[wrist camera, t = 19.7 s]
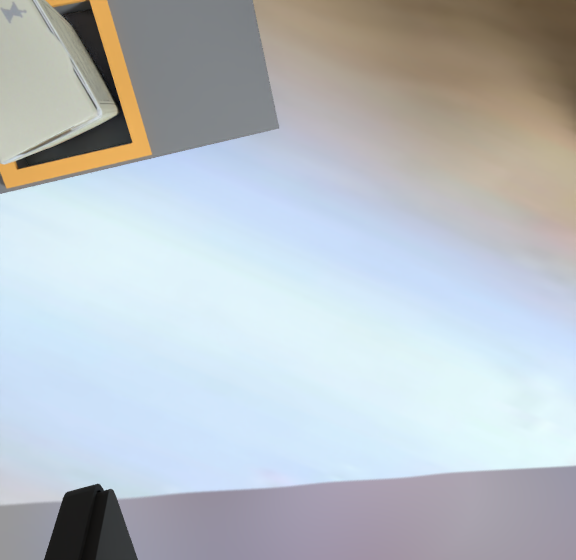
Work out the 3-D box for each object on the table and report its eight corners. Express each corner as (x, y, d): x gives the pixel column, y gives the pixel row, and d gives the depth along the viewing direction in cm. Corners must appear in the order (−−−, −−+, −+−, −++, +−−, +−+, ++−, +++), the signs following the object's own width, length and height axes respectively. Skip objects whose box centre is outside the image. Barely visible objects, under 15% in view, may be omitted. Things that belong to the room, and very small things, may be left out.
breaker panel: (203, -197, 27) (206, -226, 24) (272, 127, 32) (280, 128, 30) (-185, -142, 24) (-221, -169, 22) (-40, 200, 29) (-57, 207, 27)
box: (-1, 59, 28) (-99, 24, 17) (73, 23, 28) (21, -33, 18) (57, 151, 30) (-1, 169, 19) (126, 116, 30) (105, 116, 20)
